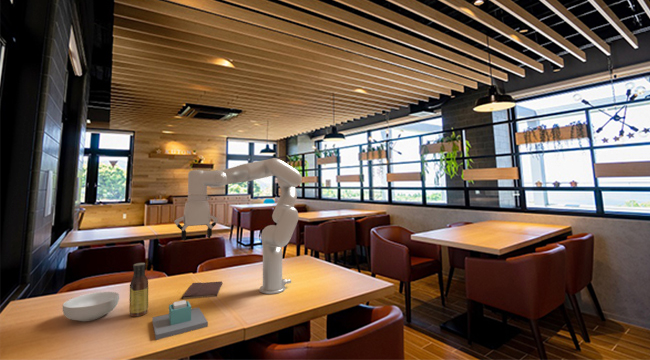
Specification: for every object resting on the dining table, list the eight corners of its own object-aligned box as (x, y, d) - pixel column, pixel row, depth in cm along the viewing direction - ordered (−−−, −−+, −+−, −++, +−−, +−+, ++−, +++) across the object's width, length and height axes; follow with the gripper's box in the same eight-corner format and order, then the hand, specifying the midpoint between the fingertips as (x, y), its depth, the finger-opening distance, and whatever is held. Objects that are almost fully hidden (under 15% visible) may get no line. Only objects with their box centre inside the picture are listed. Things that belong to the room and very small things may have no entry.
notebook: (222, 284, 149) (222, 280, 149) (216, 297, 130) (216, 293, 130) (191, 286, 146) (192, 282, 146) (181, 300, 126) (181, 296, 127)
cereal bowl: (71, 331, 97) (72, 310, 98) (55, 320, 106) (55, 301, 106) (126, 313, 112) (127, 295, 112) (108, 305, 120) (108, 288, 121)
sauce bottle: (135, 311, 114) (136, 261, 115) (151, 310, 114) (152, 261, 115) (125, 318, 107) (126, 265, 108) (142, 317, 108) (143, 265, 109)
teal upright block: (187, 314, 107) (188, 301, 107) (191, 320, 102) (191, 306, 102) (168, 318, 103) (169, 304, 103) (171, 325, 98) (171, 310, 98)
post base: (198, 311, 113) (199, 292, 114) (207, 326, 100) (208, 304, 101) (152, 321, 104) (152, 301, 105) (155, 340, 91) (156, 316, 91)
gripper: (216, 198, 129) (215, 236, 128) (173, 199, 119) (172, 239, 118) (220, 198, 122) (220, 238, 122) (176, 199, 112) (175, 242, 112)
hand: (196, 238), depth 120 cm, fingers open, 9 cm apart
